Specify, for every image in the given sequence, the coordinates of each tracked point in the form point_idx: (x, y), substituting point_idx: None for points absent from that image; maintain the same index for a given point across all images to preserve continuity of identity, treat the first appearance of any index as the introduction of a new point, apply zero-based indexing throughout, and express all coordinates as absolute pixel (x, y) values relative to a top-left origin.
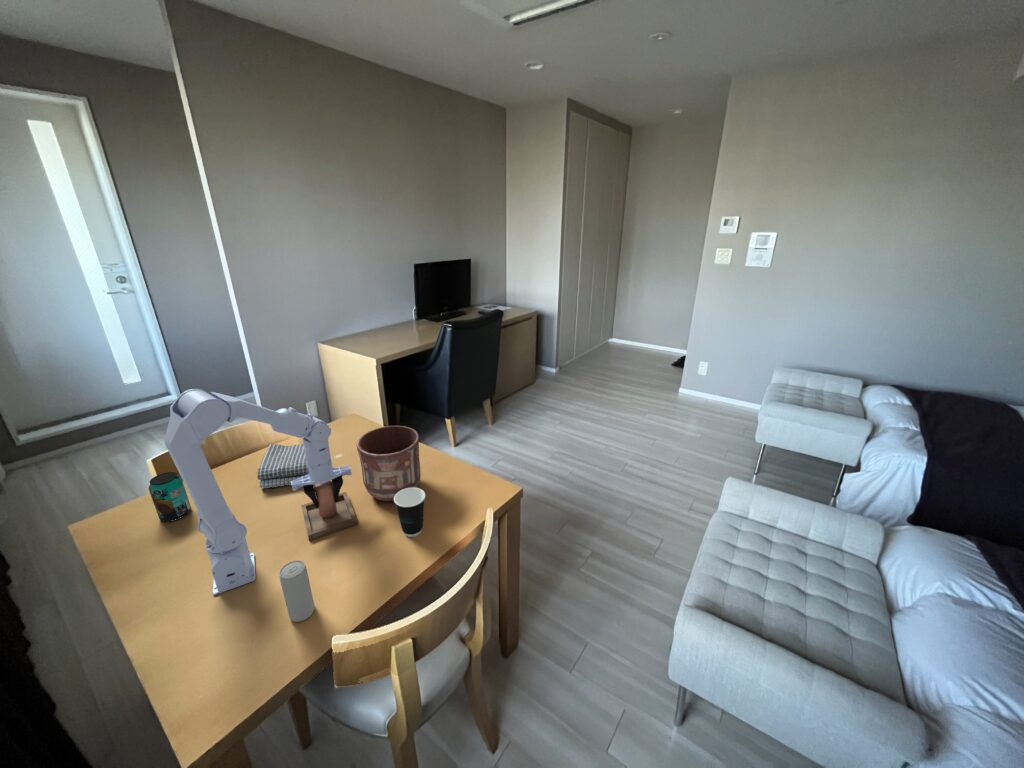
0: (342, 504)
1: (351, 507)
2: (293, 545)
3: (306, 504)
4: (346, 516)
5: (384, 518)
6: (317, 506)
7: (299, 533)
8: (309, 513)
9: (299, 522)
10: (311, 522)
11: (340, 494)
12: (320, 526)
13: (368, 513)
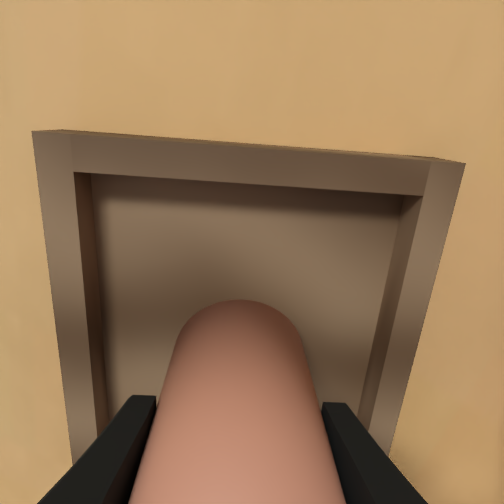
0: (363, 269)
1: (399, 397)
2: (10, 453)
3: (82, 149)
4: None
5: (496, 492)
6: None
7: (41, 380)
8: (111, 237)
9: (40, 273)
10: (116, 347)
11: (407, 175)
12: None
13: (455, 418)
